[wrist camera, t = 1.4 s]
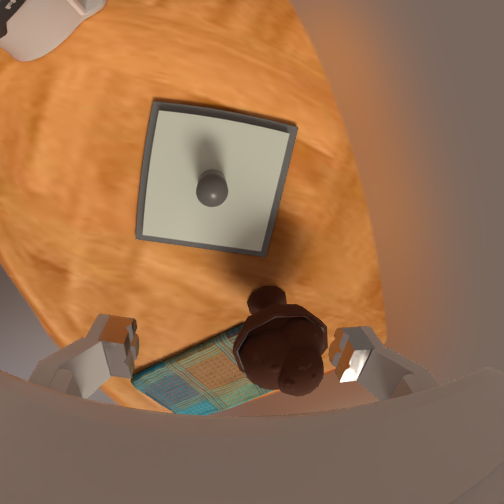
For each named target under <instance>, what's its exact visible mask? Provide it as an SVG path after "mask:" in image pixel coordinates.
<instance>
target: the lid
mask: <svg viewBox="0 0 504 504" xmlns="http://www.w3.org/2000/svg"><path fill="white" fill-rule="evenodd" d="M288 139H289V133H285V132H281V131H277V130H273V129H268V128H264V127H260V126H255V125H250V124H245V123H240V122H235V121H230V120H224V119H219V118H213V117H206V116H200V115H193V114H185V113H177V112H169V111H159V113H158V118H157V123H156V129H155V134H154V140H153V146H152V153H151V159H150V166H149V174H148V182H147V191H146V200H145V210H144V222H143V235H147V236H154V237H161V238H169V239H176V240H183V241H190V242H197V243H204V244H211V245H218V246H226V247H233V248H240V249H247V250H254V251H261V249H262V245H263V241H264V237H265V233H266V229H267V225H268V221H269V217H270V213H271V209H272V205H273V201H274V197H275V192H276V188H277V184H278V180H279V176H280V172H281V168H282V164H283V159H284V155H285V151H286V147H287V143H288Z"/></svg>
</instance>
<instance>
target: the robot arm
mask: <svg viewBox="0 0 504 504" xmlns="http://www.w3.org/2000/svg"><path fill="white" fill-rule="evenodd" d="M106 2H107V0H0V48H2V49H3V50H5V51H6V52H8V53H9V54H10V55H11V56H12V57H13V58H14V59H16V60H18V61H31V60H35V59H37V58H40V57H42V56H44V55H46V54H47V53H49V52H50V51H52V50H53V49H55V48H56V47H57V46H58V45H60V44H61V43H62V42H63V41H64V40H65V39H66V38H67V37H68V36H69V35H70V34H71V33H72V32H73V31H74V30H75V29H76V28H77V26H78V25H79V24H80V23H81V22H83V21H84V20H85V19H87V18H88V17H90V16H92V15H93V14H95V13H97V12H98V11H99V10H101V9H102V8H103V7H104V6H105V4H106ZM136 329H137V324H136V320H135V319H134V318H127V317H120V316H114V315H107V314H99V315H98V316H97V318H96V320H95V322H94V323H93V325H92V327H91V329H90V331H89V332H88V334H87V336H86V338H81V339H79V340H77V341H75V342H73V343H72V344H70V345H68V346H66V347H64V348H62V349H61V350H59V351H57V352H56V353H54V354H52V355H50V356H48V357H46V358H45V359H43V360H41V361H39V363H38V364H37V366H36V368H35V370H34V371H33V373H32V375H31V377H30V379H29V381H26V380H23V379H21V378H18V377H16V376H13V375H11V374H8V373H6V372H3V371H1V370H0V504H504V373H502V372H500V371H498V370H496V369H494V368H491V367H486V368H483V369H481V370H478V371H476V372H474V373H471V374H469V375H466V376H464V377H461V378H458V379H456V380H453V381H450V382H447V383H444V384H441V385H439V384H438V383H437V381H436V380H435V378H434V377H433V376H432V374H431V373H430V372H429V370H428V369H426V368H424V367H422V366H421V365H419V364H417V363H415V362H413V361H411V360H410V359H408V358H406V357H404V356H402V355H401V354H398V353H397V352H395V351H393V350H392V349H390V348H385V347H384V345H383V344H382V342H381V341H380V339H379V338H378V337H377V335H376V334H375V332H374V331H373V330H372V328H371V327H370V326H358V327H342V328H337V329H336V331H335V334H334V336H335V340H334V341H333V342H332V343H331V345H330V348H329V360H330V362H331V364H332V365H334V366H335V367H336V369H335V373H336V375H337V377H338V379H339V381H340V382H346V381H356V380H357V382H358V383H360V384H361V385H362V386H363V387H364V388H366V389H367V390H368V391H369V392H371V393H372V394H373V395H374V396H375V397H377V398H378V399H379V400H380V401H379V402H374V403H369V404H365V405H359V406H354V407H348V408H341V409H335V410H328V411H321V412H311V413H301V414H289V415H273V416H238V417H236V416H203V415H187V414H175V413H165V412H157V411H149V410H142V409H135V408H129V407H123V406H118V405H113V404H107V403H102V402H98V401H94V400H89V399H87V398H88V397H89V396H90V395H91V394H92V393H93V392H95V391H96V390H97V389H98V388H99V387H100V386H101V385H102V384H104V383H105V382H106V381H107V380H108V379H109V378H110V377H111V376H116V377H123V378H132V374H133V370H134V367H135V366H134V360H135V359H137V356H138V351H139V338H138V335H137V334H136V333H135V332H136Z"/></svg>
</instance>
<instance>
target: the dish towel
mask: <svg viewBox="0 0 504 504" xmlns="http://www.w3.org/2000/svg"><path fill="white" fill-rule="evenodd" d="M243 325H244V323H243V324H241V325H239V326H236V327H234V328H232V329H230V330H228V331H226V332H224V333H222V334H220V335H218V336H216V337H214V338H212V339H210V340H208V341H206V342H204V343H202V344H200V345H198V346H195V347H194V348H191V349H189V350H187V351H185V352H183V353H181V354H179V355H176V356H174V357H171V358H169V359H167V360H165V361H162V362H160V363H158V364H155V365H154V366H151V367H149V368H147V369H145V370H143V371H142V372H140V373H138V374H135V375H133V378H132V379H131V383H132V384H133V386H134V387H135V388H136V389H138V390H139V391H141V392H142V393H144V394H146V395H147V396H149V397H150V398H152V399H154V400H155V401H156V402H158V403H159V404H161V405H162V406H164V407H166V408H167V409H169V410H171V411H172V412H174V413H175V414H187V415H203V416H207V415H210V414H214V413H218V412H221V411H224V410H227V409H229V408H232V407H234V406H237V405H240V404H242V403H244V402H247V401H249V400H252V399H254V398H257V397H259V396H262V395H264V394H266V393H269V392H271V391H273V390H267V389H262V388H259V387H258V386H257V385H255V384H253V383H252V382H251V381H250V380H249V379H248V378H247V376H246V373H244V372H241V371H240V370H239V368H238V365H237V362H236V360H235V357H234V354H233V352H232V351H233V345H234V341H235V340H236V338H237V336H238V334H239V332H240V330H241V329H242V327H243Z"/></svg>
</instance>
